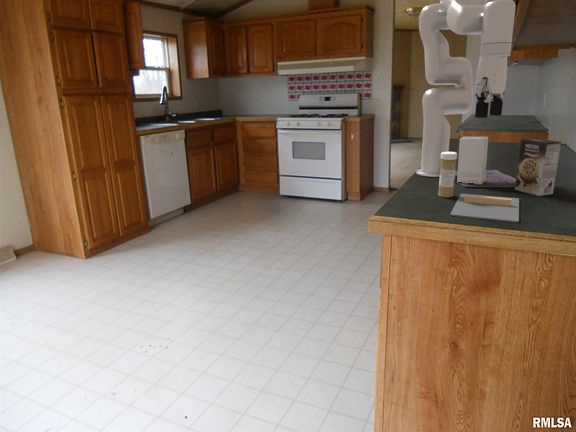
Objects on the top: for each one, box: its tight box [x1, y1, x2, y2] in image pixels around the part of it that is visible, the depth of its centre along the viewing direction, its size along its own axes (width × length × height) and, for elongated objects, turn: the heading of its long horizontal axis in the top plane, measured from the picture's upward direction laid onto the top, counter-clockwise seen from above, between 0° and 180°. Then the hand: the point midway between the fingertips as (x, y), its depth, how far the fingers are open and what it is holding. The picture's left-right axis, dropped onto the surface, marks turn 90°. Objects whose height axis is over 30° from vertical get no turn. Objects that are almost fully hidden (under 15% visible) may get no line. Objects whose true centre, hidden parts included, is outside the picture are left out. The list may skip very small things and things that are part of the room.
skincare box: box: [457, 135, 489, 185], centre depth 148 cm, size 8×7×16 cm
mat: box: [449, 193, 520, 223], centre depth 120 cm, size 24×16×2 cm, turn 153°
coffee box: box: [514, 138, 562, 197], centre depth 133 cm, size 9×6×16 cm
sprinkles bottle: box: [437, 151, 458, 198], centre depth 131 cm, size 5×5×14 cm
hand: (488, 116), depth 121 cm, fingers open, 9 cm apart
